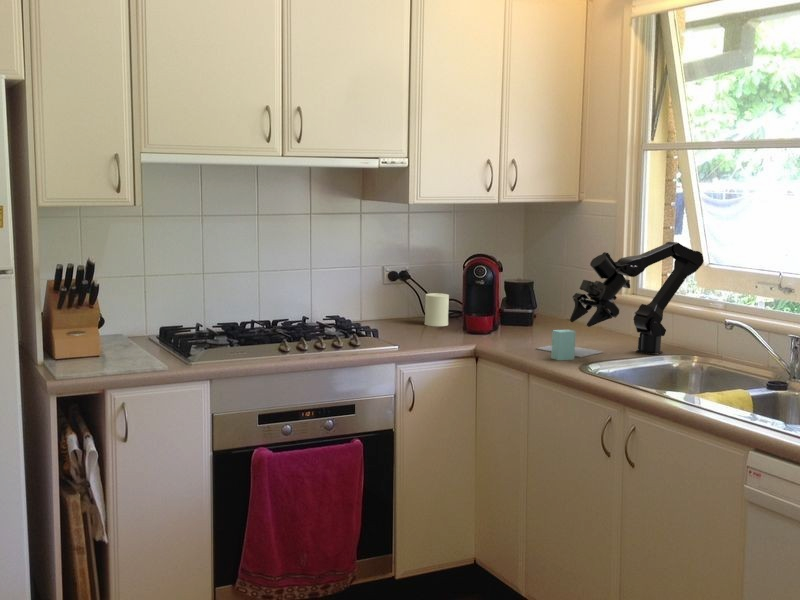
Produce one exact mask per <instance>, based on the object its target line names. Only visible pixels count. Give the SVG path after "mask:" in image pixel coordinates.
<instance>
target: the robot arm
mask: <svg viewBox="0 0 800 600" xmlns="http://www.w3.org/2000/svg"><path fill="white" fill-rule="evenodd" d="M668 258H672V259H674V262H673V263H674V264H673V270H672V271H671V273H670V274H669V275H668V277H667V279H666V280H665V281H664V283H663V284H662V286H661V287H660V288H659V290H658V291H657V293H656V294H655V295H654V297H653V299H652V300H651V301H650V302H649V303H648V304H644V303H641V304H640V305H639V306H638V307H639V308H638V309H637V310H636V311H635V312H634V314H635V315H634V316H633V324H634V326H635V328H636V332H637V333H639V336H638V339H637V341H638V342H637V349H636V351H635V352H636V353H637V352H638V353H641V354H642V353H643V354H647V355H657V353H658V354H661V352H662V353H663V352H664V350H661V347H662V346H661V343H662V337H664V336H665V335H666V332H667V329H666V327H665V326H664V325H663V324H662V321H663V318H664V311H665V309H666V307H667V306H668V305H669V304H670V302H671V300H672V299H673V297H674V296H675V294H676V293H677V292H678V290H679V289H680V287H681V286H682V285H683V284H684V282H685V281H686V279H687V278H688V277H690V276H691V275H693V274H694V273H696V272H697V271H698V270H699V269H700V268H701V267H702V266H703V264H704V261H705V260H704V256H703V253H702V252H701V251H699V250H694V249H691V248H689V247H687V246H685V245H682V244H681V243H679V242H677V241H667V242H665V243H664V244H661V245H660V246H657V247H655V248H652V249H651V250H648V251H646V252H643V253H641V254H638V255H629V256H625V257H620V258H619V259H618V260H617V261H614V259H613V258H612V257H611V254H609V252H605V251H604V252H602V254H600V255H597V256H595V257H593V258H592V259H591V261H590V263H589V266H590V267H591V268H592V269H593V271H594V272H595V273H596V275H597V276H598V277H599V278H600V279H604V281H603V282H602V281H600V280H595V281H591V280H587V279H583V280H582V282H581V284H580V286H579V288H578V289H580V290H581V291H584V292H585V293H587V294H585V293H581V292H576V293H574V295H572V299H573V303H574V308H573V311H572V312H571V316H570V319H569V321H570V323H574V322H575V321H577V320H579V319H580V318H582V317H583V316H585V315H586V314H587V313H589V310H591V309H592V308H596V310H595V312H594V314H592V316H591V317H590V319H589V320H588V322H587V323H586V326H587V327H588V328H591V327H593V326H595V325H597V324H600V323H602V322H605V321H607V320H611V319H613V318H614V319H615V318H617V317H618V315H619V314H620V308H619V307H618V306H617V304H616V303H615V302H614V301H616V300H617V294H618V293H619V292H620V291H621V289H623V288H625V289H631V284H630V283H631V282H630V281H631V280H630V279H626V277H631V278H635V277H637V276H638V275H641V274H642V273H643V272H644V271H645V270H646V269H647V268H648V267H649V266H652V265H655V264H656V263H659V262H661V261H663V260H666V259H668Z"/></svg>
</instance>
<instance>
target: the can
mask: <svg viewBox="0 0 800 600" xmlns="http://www.w3.org/2000/svg"><path fill="white" fill-rule="evenodd" d="M449 300H450V294H448V293H441V292H437V293H433V292H432V293H431V292H430V293H426V294H425V302H424V303H425V305H424V306H425V307H424V309H425V312H424V325H425V326H427V327H428V326H429V327H446V326H447V327H448V326H449V306H450V305H449V303H450V301H449Z"/></svg>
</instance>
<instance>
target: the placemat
mask: <svg viewBox="0 0 800 600" xmlns="http://www.w3.org/2000/svg"><path fill="white" fill-rule="evenodd" d="M535 350H538V351H543V352H547V353H552V344H551V345H550V344H549V345H545V346H540V347H535ZM601 353H602V354H604V351H600V350H596V349H590V348H584V347H579V346H575V354H574V358H580V359H582V358H586V357H587V358H588V357H591V356H597V355H602V354H601Z"/></svg>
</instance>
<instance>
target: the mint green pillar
mask: <svg viewBox="0 0 800 600" xmlns="http://www.w3.org/2000/svg"><path fill="white" fill-rule="evenodd" d="M576 334H577V333H576V331H575V330H572V329H568V328H566V329H553V330H552V333H551V337H552V338H551V345H552V352H550V353H551V356H550V359H553V360H556V361H570V360H572V361H573V360H575V357H574V354H575V347H576Z"/></svg>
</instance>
